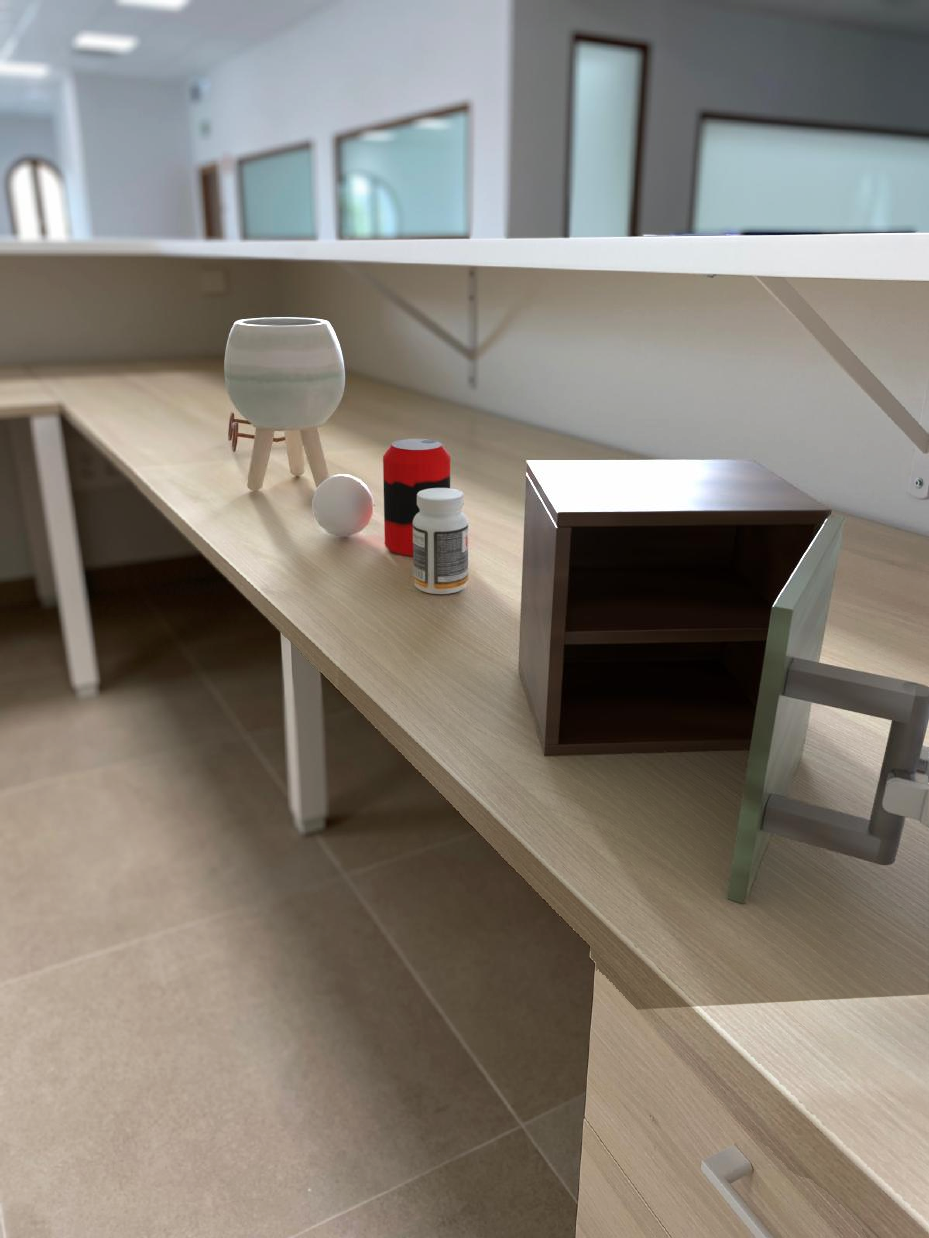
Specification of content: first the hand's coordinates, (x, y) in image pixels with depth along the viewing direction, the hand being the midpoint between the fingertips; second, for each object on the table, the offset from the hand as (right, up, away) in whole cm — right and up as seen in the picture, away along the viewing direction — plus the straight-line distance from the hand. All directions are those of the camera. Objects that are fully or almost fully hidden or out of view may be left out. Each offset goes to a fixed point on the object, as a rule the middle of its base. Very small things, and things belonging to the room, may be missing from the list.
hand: (886, 773), depth 48 cm
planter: (-46, +27, +85) cm, 100 cm away
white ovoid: (-37, +18, +65) cm, 77 cm away
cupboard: (-8, +1, +25) cm, 26 cm away
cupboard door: (+1, -5, +10) cm, 11 cm away
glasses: (-54, +37, +108) cm, 127 cm away
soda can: (-27, +16, +61) cm, 68 cm away
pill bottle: (-24, +11, +49) cm, 56 cm away
